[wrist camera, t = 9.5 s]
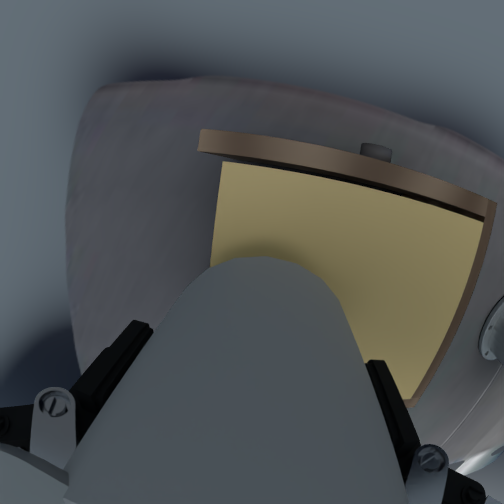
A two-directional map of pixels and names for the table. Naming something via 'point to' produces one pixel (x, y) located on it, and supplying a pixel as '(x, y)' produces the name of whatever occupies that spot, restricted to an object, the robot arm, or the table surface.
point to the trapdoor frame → (373, 173)
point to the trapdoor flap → (356, 255)
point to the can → (243, 403)
